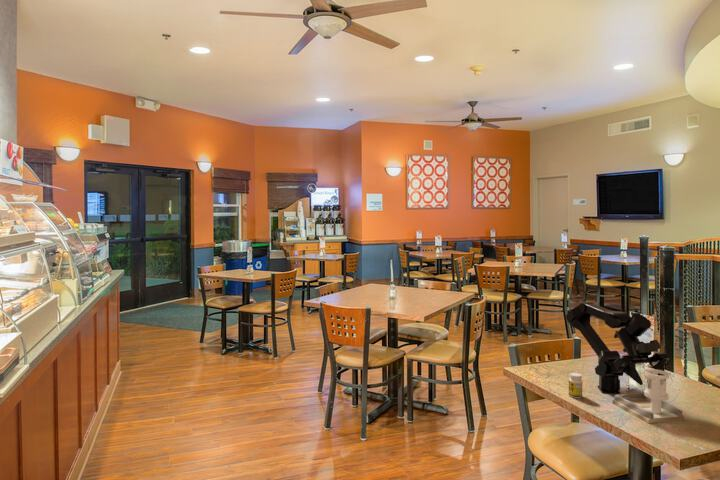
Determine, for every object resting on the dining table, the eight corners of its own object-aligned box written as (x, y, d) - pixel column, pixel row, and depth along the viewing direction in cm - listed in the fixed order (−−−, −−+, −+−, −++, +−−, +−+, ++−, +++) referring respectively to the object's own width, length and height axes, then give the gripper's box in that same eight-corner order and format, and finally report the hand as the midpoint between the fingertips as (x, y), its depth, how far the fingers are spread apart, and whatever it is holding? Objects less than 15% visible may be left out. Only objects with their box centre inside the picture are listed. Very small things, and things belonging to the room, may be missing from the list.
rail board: (612, 403, 180) (612, 395, 179) (645, 399, 182) (645, 392, 182) (648, 423, 163) (648, 414, 163) (684, 419, 166) (684, 410, 165)
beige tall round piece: (643, 406, 173) (644, 364, 172) (666, 409, 170) (667, 367, 169) (644, 414, 167) (646, 371, 166) (669, 417, 164) (670, 373, 163)
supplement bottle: (566, 393, 189) (566, 372, 188) (577, 393, 189) (578, 372, 189) (572, 398, 184) (573, 376, 183) (584, 398, 184) (585, 376, 184)
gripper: (620, 333, 171) (643, 375, 162) (666, 330, 175) (691, 371, 165) (604, 348, 180) (625, 389, 170) (648, 345, 183) (671, 385, 173)
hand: (653, 383), depth 169 cm, fingers open, 9 cm apart
